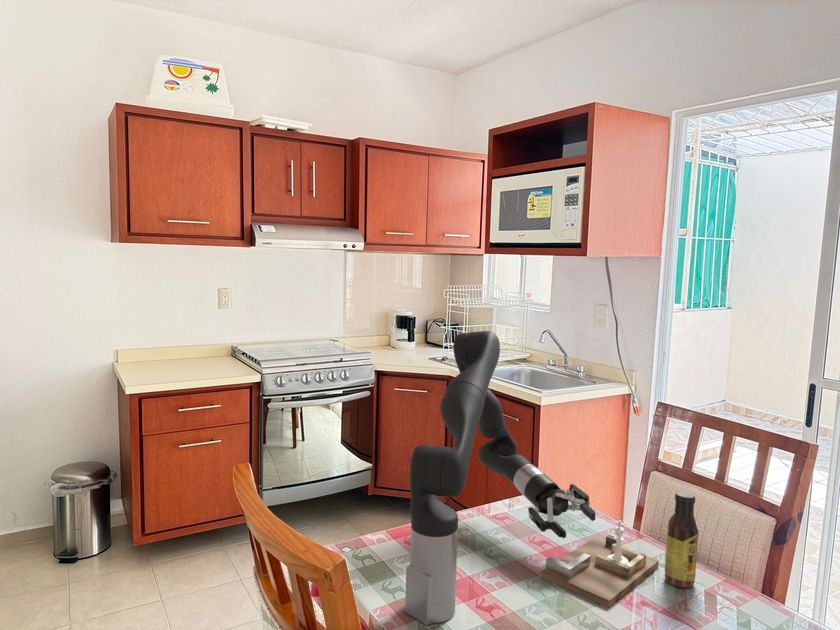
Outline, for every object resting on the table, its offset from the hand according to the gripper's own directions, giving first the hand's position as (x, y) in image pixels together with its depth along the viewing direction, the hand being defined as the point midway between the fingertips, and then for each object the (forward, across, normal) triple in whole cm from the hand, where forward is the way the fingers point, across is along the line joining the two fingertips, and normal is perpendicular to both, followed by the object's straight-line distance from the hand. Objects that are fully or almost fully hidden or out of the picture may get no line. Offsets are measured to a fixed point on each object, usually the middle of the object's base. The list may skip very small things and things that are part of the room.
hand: (579, 526), depth 136 cm
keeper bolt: (+2, -6, +6) cm, 9 cm away
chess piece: (+6, +5, +10) cm, 13 cm away
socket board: (+6, 0, +10) cm, 11 cm away
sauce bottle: (+16, +13, +12) cm, 24 cm away
